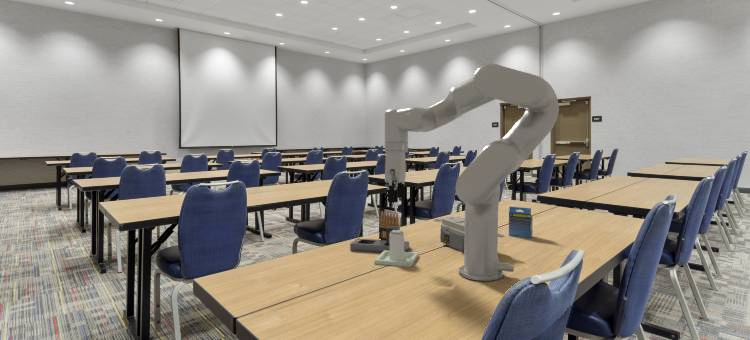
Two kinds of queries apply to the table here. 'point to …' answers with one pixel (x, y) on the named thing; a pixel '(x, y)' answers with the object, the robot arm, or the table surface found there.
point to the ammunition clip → (387, 223)
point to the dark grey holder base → (376, 243)
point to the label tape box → (520, 222)
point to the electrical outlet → (453, 232)
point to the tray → (407, 261)
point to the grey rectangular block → (396, 245)
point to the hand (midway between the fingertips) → (396, 200)
